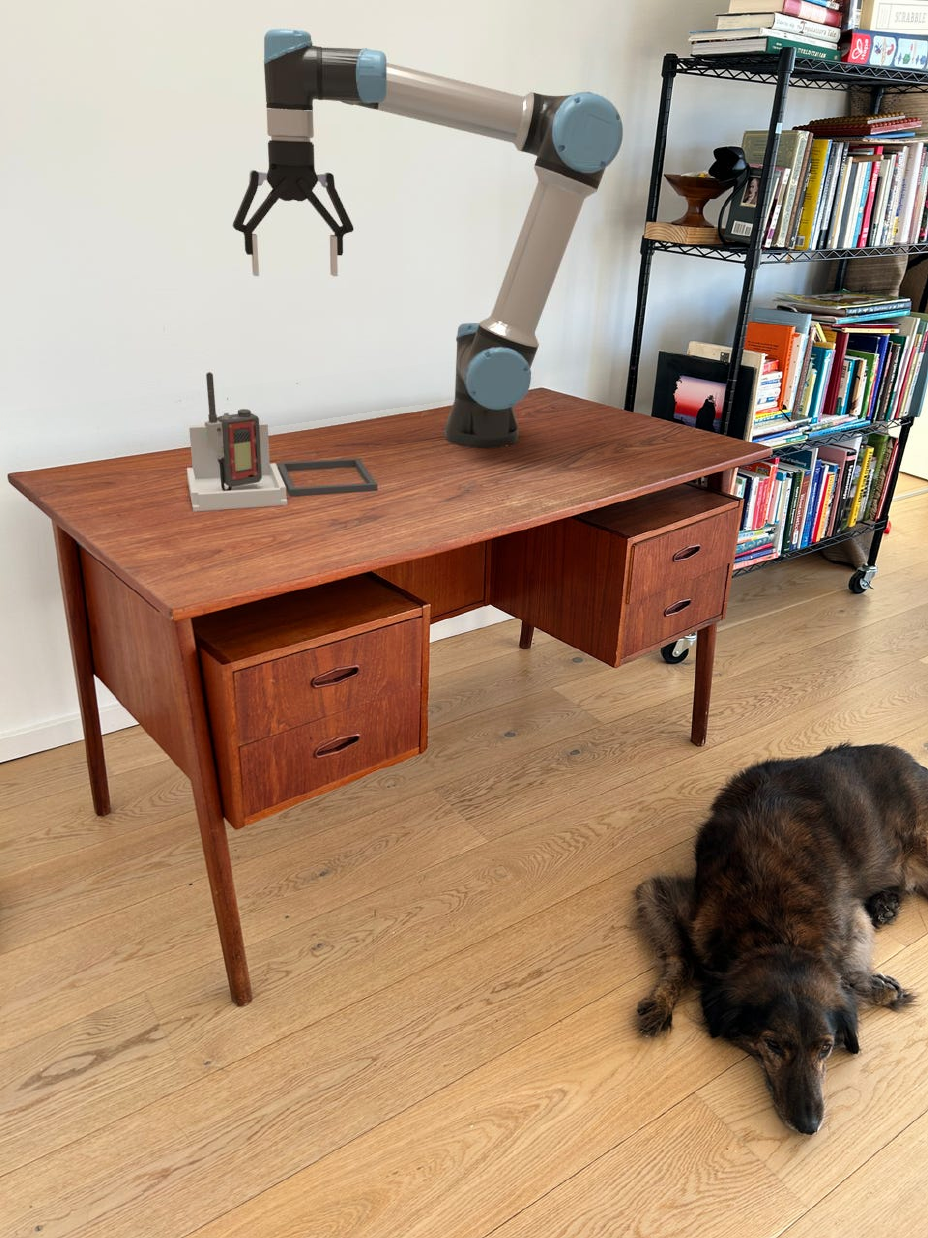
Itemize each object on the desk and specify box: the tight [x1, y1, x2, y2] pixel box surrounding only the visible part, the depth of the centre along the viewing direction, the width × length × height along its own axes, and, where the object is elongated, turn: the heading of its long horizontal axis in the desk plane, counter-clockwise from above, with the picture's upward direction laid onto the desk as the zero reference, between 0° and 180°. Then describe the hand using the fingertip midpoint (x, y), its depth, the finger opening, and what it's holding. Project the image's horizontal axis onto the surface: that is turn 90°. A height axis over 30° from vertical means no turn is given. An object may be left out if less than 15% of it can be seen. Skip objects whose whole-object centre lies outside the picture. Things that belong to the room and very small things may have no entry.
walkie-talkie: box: [204, 371, 262, 491], centre depth 158 cm, size 9×4×20 cm, turn 127°
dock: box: [186, 422, 288, 513], centre depth 161 cm, size 15×15×10 cm
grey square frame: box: [277, 457, 378, 497], centre depth 171 cm, size 15×15×2 cm
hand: (295, 275), depth 168 cm, fingers open, 13 cm apart
